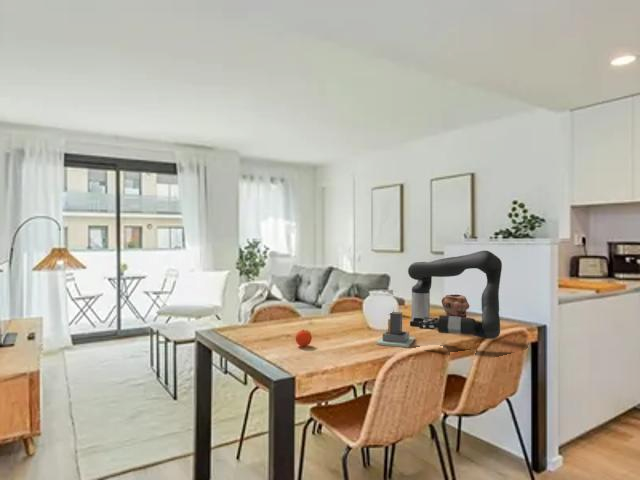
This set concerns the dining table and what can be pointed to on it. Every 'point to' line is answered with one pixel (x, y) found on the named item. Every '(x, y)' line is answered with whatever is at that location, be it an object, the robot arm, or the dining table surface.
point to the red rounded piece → (303, 338)
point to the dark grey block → (395, 323)
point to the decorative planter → (455, 305)
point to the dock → (396, 340)
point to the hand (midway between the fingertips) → (411, 321)
